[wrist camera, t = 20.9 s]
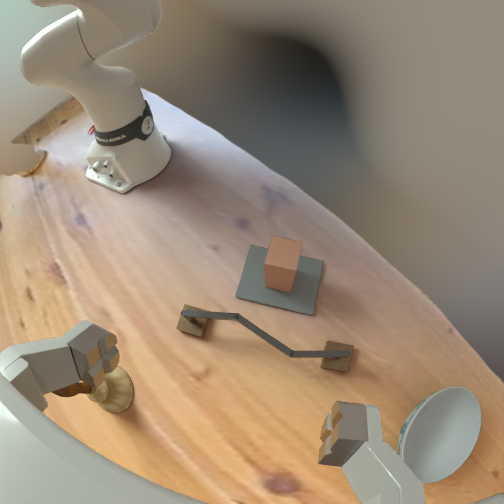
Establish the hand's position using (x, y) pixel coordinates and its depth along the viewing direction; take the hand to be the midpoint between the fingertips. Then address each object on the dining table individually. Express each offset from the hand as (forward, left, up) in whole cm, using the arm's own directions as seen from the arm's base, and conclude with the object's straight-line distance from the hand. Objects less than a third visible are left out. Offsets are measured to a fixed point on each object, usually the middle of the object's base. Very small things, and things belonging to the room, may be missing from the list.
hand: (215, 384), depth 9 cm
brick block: (0, +16, -31) cm, 35 cm away
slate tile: (0, +16, -31) cm, 35 cm away
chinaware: (+29, -5, -32) cm, 43 cm away
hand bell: (-21, -10, -32) cm, 39 cm away
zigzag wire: (0, +6, -31) cm, 32 cm away
